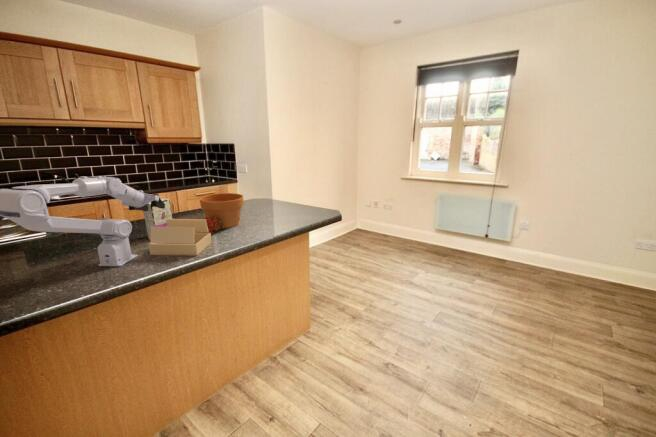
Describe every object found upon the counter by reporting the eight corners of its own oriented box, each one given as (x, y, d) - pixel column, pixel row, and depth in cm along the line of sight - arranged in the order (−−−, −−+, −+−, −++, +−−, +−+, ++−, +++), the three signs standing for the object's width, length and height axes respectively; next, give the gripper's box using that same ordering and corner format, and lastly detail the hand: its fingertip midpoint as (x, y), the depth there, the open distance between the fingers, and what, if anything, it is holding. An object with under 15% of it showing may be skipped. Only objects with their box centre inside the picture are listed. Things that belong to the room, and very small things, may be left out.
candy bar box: (166, 231, 137) (161, 198, 132) (175, 232, 136) (170, 198, 131) (147, 239, 126) (141, 203, 122) (157, 240, 125) (151, 204, 121)
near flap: (194, 243, 109) (193, 243, 108) (151, 242, 109) (150, 242, 108) (194, 227, 109) (193, 227, 108) (151, 226, 109) (150, 226, 108)
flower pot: (237, 231, 139) (235, 201, 135) (194, 230, 139) (191, 200, 135) (250, 219, 159) (248, 193, 155) (212, 218, 160) (210, 192, 156)
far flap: (169, 231, 122) (170, 231, 122) (208, 232, 122) (208, 231, 122) (165, 219, 118) (166, 218, 119) (205, 219, 118) (205, 219, 119)
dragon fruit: (225, 233, 141) (200, 241, 134) (218, 220, 144) (194, 228, 138) (226, 222, 135) (200, 230, 128) (218, 209, 138) (192, 217, 131)
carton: (197, 255, 110) (195, 244, 109) (150, 255, 110) (148, 244, 108) (211, 242, 123) (210, 232, 122) (169, 242, 123) (168, 232, 122)
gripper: (147, 182, 107) (172, 196, 120) (113, 188, 109) (141, 201, 122) (145, 200, 105) (170, 212, 118) (110, 205, 107) (139, 216, 119)
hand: (155, 207), depth 119 cm, fingers open, 7 cm apart
